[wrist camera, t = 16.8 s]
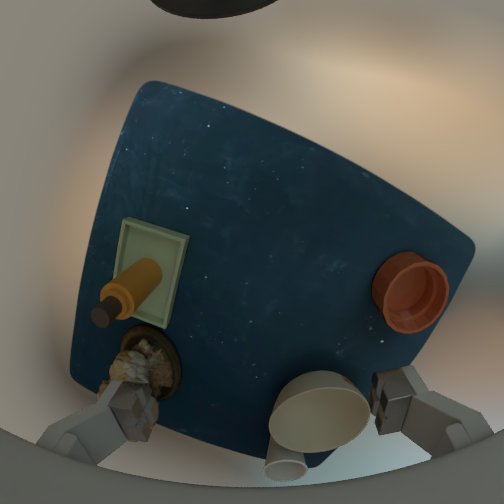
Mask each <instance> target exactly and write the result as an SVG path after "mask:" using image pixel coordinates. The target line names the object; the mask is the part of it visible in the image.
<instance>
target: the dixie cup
mask: <svg viewBox="0 0 504 504" xmlns="http://www.w3.org/2000/svg"><path fill="white" fill-rule="evenodd" d="M307 471H308V467H307V465H306V464H305V460H304V456H303V452H298V451H293V450H290V449H287V448H285V447H283V446H281V445H280V444H278V443H277V442H276V441H275V440H274V439H273V437H272V436H271V437H270V442H269V447H268V452H267V457H266V463H265V467H264V468H263V474H264V475H265V476H266V477H267V478H269V479H271V480H274V481H280V482H286V481H293V480H296V479H299V478H301V477H303V476H304V475H305V474H306V473H307Z"/></svg>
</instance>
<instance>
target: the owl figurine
mask: <svg viewBox="0 0 504 504" xmlns="http://www.w3.org/2000/svg"><path fill="white" fill-rule="evenodd" d="M109 373H110V379H108V380H103V382H102V385H101V386H100V388H99V392H98V393H97V396H96V399H97V401H98V400H99V398H100V397H101V395H102V394H103V392H104V391H105V389H106V388H107V386H108V385H109V383H110V382H111V381H112V380H114V379H115V380H123V381H133V382H142V383H148V384H150V387H151V389H152V393H151V396H152V397H153V398H154V399H156V400H160V401H161V400H164V399H167V398H169V397H171V396H172V395H173V394H174V393H175V392H176V390H177V389H178V387H179V384H178V383H180V382H181V375H182V371H181V362H180V359H179V356H178V353H177V350H176V349H175V347H174V345H173V344H172V342H171V341H170V339H169V338H167V337H166V336H164V335H163V332H161V331H160V330H158V329H157V328H154V327H151V326H148V325H136V326H134V327H132V328H131V329H129V330H128V332H127V333H126V334H125V336H124V338H123V340H122V343H121V348H120V353H118V355H117V356H116V358H115V360H114V362H113V364H112V365H111V366H110V370H109ZM177 384H178V385H177ZM176 385H177V386H176ZM175 386H176V387H175ZM156 402H157V401H156ZM157 405H159V403H158V402H157ZM158 414H159V406H158ZM158 418H159V416H158V417H157V419H156V421H157V420H158ZM155 423H156V422H155ZM155 423H153V424H152V425H150V426H151V428H152V427H153V426H154V425H155ZM127 440H128V439H127ZM128 441H130V442H137V441H135V440H128Z"/></svg>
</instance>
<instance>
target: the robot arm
mask: <svg viewBox="0 0 504 504" xmlns="http://www.w3.org/2000/svg"><path fill="white" fill-rule="evenodd" d="M372 384H373V388H372V389H371V390H370V394H369V405H370V410H371V413H372V414H373V415H374V416H376V419H375V425H376V428H377V430H378V434H379V435H384V434H389V433H394V432H399V431H401V432H402V433H403V434H404V435H405V436H407V437H408V438H409V439H411V440H412V441H413V442H414V443H416V444H417V445H418V446H420V447H421V448H422V449H424V450H425V451H426V452H428V453H429V454H430V455H432V457H431V459H430V460H428V461H424V462H421V463H418V464H414V465H411V466H407V467H404V468H400V469H397V470H393V471H388V472H384V473H379V474H375V475H370V476H366V477H360V478H355V479H349V480H343V481H336V482H329V483H321V484H312V485H302V486H287V487H257V488H256V487H247V488H246V487H221V486H206V485H195V484H186V483H178V482H171V481H164V480H158V479H151V478H146V477H141V476H136V475H131V474H127V473H123V472H118V471H114V470H110V469H106V468H103V467H99V466H97V464H98V463H100V462H101V461H102V460H104V459H105V458H106V457H107V456H109V455H110V454H111V453H112V452H114V451H115V450H116V449H117V448H119V447H120V446H121V445H122V444H124V443H125V442H126V441H127V439H128V440H135V441H143V442H147V441H148V439H149V436H150V434H151V431H152V429H151V426H150V425H152V424H153V423H155V422H156V419H157V417H158V405H157V402H156V399H154V398H153V397H152V396H151V393H152V389H151V387H150V384H148V383H142V382H133V381H123V380H115V379H114V380H112V381H111V382H110V383H109V385H108V386H107V388H106V389H105V391H104V392H103V394H102V395H101V397H100V398H99V400H98V401H97V403H96V404H91V405H89V406H87V407H85V408H84V409H81V410H80V411H78V412H76V413H74V414H72V415H70V416H68V417H66V418H64V419H62V420H60V421H58V422H56V423H54V424H52V425H50V426H48V428H47V429H46V430H45V432H44V433H43V435H42V436H41V437H40V439H39V440H38V441H37V443H36V444H34V443H31V442H29V441H27V440H24V439H22V438H20V437H18V436H16V435H14V434H11V433H10V432H8V431H6V430H3V429H1V428H0V504H504V429H503V430H501V431H499V432H497V433H495V434H494V432H493V431H492V429H491V428H490V426H489V425H488V423H487V422H486V420H485V419H484V417H483V415H482V414H481V413H480V412H477V411H475V410H473V409H471V408H468V407H467V406H464V405H462V404H460V403H458V402H456V401H454V400H451V399H449V398H447V397H445V396H443V395H441V394H439V393H437V392H435V391H429V390H428V388H427V387H426V385H425V384H424V382H423V380H422V379H421V377H420V376H419V374H418V372H417V371H416V369H415V368H414V366H412V365H409V366H405V367H400V368H396V369H391V370H386V371H381V372H375V373H373V376H372Z"/></svg>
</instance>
